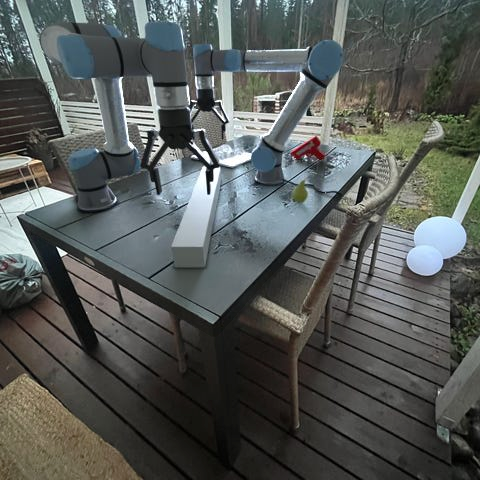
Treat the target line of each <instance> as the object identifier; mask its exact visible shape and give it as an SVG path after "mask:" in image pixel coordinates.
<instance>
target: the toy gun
mask: <svg viewBox="0 0 480 480" xmlns="http://www.w3.org/2000/svg"><path fill="white" fill-rule="evenodd" d="M321 143H322V141H321V140H320V139H319V137H318V136H317V135H314V136H313V137H311V138H309V139H308V140H306V141H305V142H303V143H302V144H301V145H299V146H297V147H296V148H294V149H293V150H291V153H290V154H291V156H292V157H293V159H294V158H296V159H294V160H295V161H297V160H299V159H301V158H303V157H305V156H306V157H307V158H310V157H312V156H314V157H315V158H316V159H317V160H318V159H319V160H321V161H322V159H323V161H324V159H325V157H326V154H325V152H323V151H322V150H321V149H320V148H319V146H320V147H321ZM319 160H318V162H319V163H320V162H321V161H319Z"/></svg>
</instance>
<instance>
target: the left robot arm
mask: <svg viewBox="0 0 480 480" xmlns="http://www.w3.org/2000/svg"><path fill="white" fill-rule="evenodd" d="M183 36H184V35H183V30H182V26H181V25H180V24H179V23H177V22H174V21H162V20H161V21H149V22H146V23H145V25H144V37H126V36H125V37H124V36H123V35H122V33H121V32H120V31H119V29H118V28H117V27H115V26H114V25H110V24H104V23H96V22H95V23H94V22H93V23H92V22H72V21H71V22H70V21H60V22H59V21H57V22H54V23H50V24H48V25H46V26H45V27H44V28H43V29H42V30H41V31H40V33H39V45H40V48H41V50H42V52H43V53H44V55H45V57H46V58H47V59H49V61H51V62H52V63H54V64H55V65H58V66H60V67H62V68H63V70H64V71H65V74H66V75H67V76H68V77H69V78H71V79H82V80H90V79H93V81H94V86H95V91H96V97H97V101H98V106H99V111H100V117H101V121H102V126H103V131H104V132H103V133H104V137H105V143H103V146H102V148H103V150H101V151H99V150H98V149H97V148H93V147H91V148H83V149H80V150H76V151H75V152H73V153H71V154H70V155H68V157H67V162H68V166H69V170H70V172H71V174H72V177H73V180H74V183H75V186H76V189H77V192H78V193H77V194H78V195H76V196H75V198H76V199H77V201H78V202H77V206H78V209H79V210H80V212H83V213H89V214H91V213H92V214H93V213H101V212H104V211H107V210H110V209H112V208H114V207H115V206H116V205H117V203H118V200H117V197H116V196H115V194H114V193H113V191H112V190H111V189H110V187H109V185H108V180H109V181H110V180H113V179H118V178H122V177H123V178H124V177H127V176H128V177H129V176H132V175H135V174H137V173H139V171H140V168H141V169H145V170H147V171H148V174H149V179H150V182H151V183H154V186H155V192H156V195H157V196H160V195H161V194H162V192H163V189H162V182H161V176H160V170H159V168H158V167H156V166H157V165H158V163H159V162H160V160H161V159H162V157H163V156H164V154H165V153H166V151H167V150H168V148H169V149H170V150H177V149H178V150H185V149H187V150H188V151H190V152H191V153H192V154H193V156H194V155H195V156H196V157H197V158H198V159H199V160H198V161H200V163H201V164H202V165H203V167H206V171H205V174H206V186H207V195H210V192H211V185H210V182H213V180H214V169H215V168H219V167H221V165H220V161H219V160H218V158H217V156H216V154H215V152H214V150H213V149H214V148H213V147H212V145H211V143H210V141H209V140H208V138H207V133H206V129H205V128H204V127H202V128H201V129H195V130H193V129H192V124H193V123H192V124H191V119H192V113H191V114H190V107H188V106H190V94H189V93H190V92H189V85H188V75H187V61H186V50H185V49H186V48H185V47H186V46H185V42H184V37H183ZM148 77H149V78H151V79H152V86H153V92H154V99H155V104H156V106H157V107H159V108H158V109H157V118H158V123H159V124H158V125H159V130H157V129H154V128H150V129H149V130H147V132H146V136H147V137H146V138H147V141H146V144H145V148H144V151H143V155H142V158H141V157H140V154H139V151H138V149H137V148H136V146H134V145H133V143H132V142H130V141H129V139H130V138H129V132H128V125H127V119H126V110H125V104H124V103H125V102H124V96H123V88H122V87H123V86H122V79H123V78H148ZM194 136H195V137H196V138H197V139H198V140H200V142H201V145H202V146H203V148H204V150H205V152H207V153H208V155H209V157H210V159H211V161H212V162H213V163H211V162H210V160H209V159H208V158H207V157H206V156H205V155H204V154H203V153H202V152H203V151H201V149H200V148H199V147H198V146H197V145H196V143H195V142H194V140H193V137H194ZM159 137H160V139H161V140H162V141H163V144H162V145H161V146H160V148H159V150H158V151H157V153H156V155H155V156H154V157H153V159H152V161H151V162H149V161H150V158H151V155H152V152H153V149H154V146H155V141H156V140H157V139H158V138H159Z"/></svg>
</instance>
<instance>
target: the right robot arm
mask: <svg viewBox="0 0 480 480" xmlns="http://www.w3.org/2000/svg"><path fill="white" fill-rule="evenodd" d="M344 57H345V55H344V50H343V48H342V46H341V44H340V43H339V42H338V41H335V40H334V39H325V40H321V41H319V42H318V43H317V44H316V45H315V46H313V45H312V46H311V45H310V46H308V47H306V49H273V50H272V49H271V50H269V49H268V50H238V49H232V48H231V49H230V48H229V49H213V47H212V44H210V43H197V44H194V45H193V63H194V73H195V74H194V75H195V87H196V100H193V99H192V100H190V101H189V103H190V104H189V109H190V114H191V115H192V113H193V110H194V107H196V105H197V107H198V109H197V110H196V112H195V113H194V115H193V116H192V117H191V124H192V129H193V130H196V129H195V123H194V121H195V120H196V119H197V117H198V116H199V115H200V112H203V113H210V112H211V113H213V114H214V115H215V117H216V118H217V119H218V120H219V121H220V123H221V124H220V125H221V126H220V130H221V140H222V141H224V138H225V135H224V134H225V132H226V131H227V130H226V129H227V127H226V125H227V124H229V123H230V118H229V116H228V114H227V113H226V111H225V109H224V106H223V102H222V99H219V100H215V88H214V87H215V85H214V73H239V72H300V80H299V82H298V84H297V85H296V87H295V89H294V90H293V91H292V92H291V93H292V94H291V95H290V96H289V98H288V100H287V102H286V103H285V105H284V107H283V108H282V110H281V111H280V113H279V115H278V117H277V118H276V120H275V122H274V123H273V125H272V127H270V129H271V130H270V129H269V130H270V132H269V133H264V134H261V135H260V137H259V142H258V143H257V144H256V146H255V147H254V149H252V151H251V153H250V154H251V160H250V162H251V165H252V167H253V168H254V169H255V170H257V171H256V174H255V177H254V181H255V183H258V184H259V185H262V186H263V185H264V186H279V185H281V184H283V183H284V182H286V183H288V184H290V185H294V186H295V187H297V186H298V184H299V183H295V182H292V181H290V180H287V179H285V175H284V172H283V171H284V170H283V167H282V165H283V154H284V152H285V150H286V146H285V145H286V143H287V141H288V140H289V139H290V137H291V135H292V134H293V132H294V131H295V129H296V128H297V126H298V125H299V123H300V122H301V120H302V119H303V117H304V115H306V112H307V111H308V109H309V108H310V107H311V105H312V104H313V102H314V100H315V99H316V97H317V96H318V94H319V93H320V92H321V91H325V90H326V89H327V88H328V86H329V85H330V83H331V82H332V81H333V79H334V77H335V76H336V74H338V73H339V71H340V70H341V68H342V66H343V63H344ZM215 106H217V107H219V110H220V113H221V114H222V115H221V114H220V113H219V112H218V111H217V109H216V108H215ZM195 140H196V136H194V137H193V138H192V141H195ZM314 185H315V184H312V183H305V187H312V188H315V190H316V191H317V192H318V193H321V194H332V193H333V194H337V195H338V196H339V197H340V196H341V197H342V196H343V195H342V193H341V192H339V191H337V190H329V191H324V192H322V191H323V190H321V191H319V190H320V189H319V188H318V189H317V188H316V187H315V186H316V185H315V186H314ZM325 192H326V193H325Z"/></svg>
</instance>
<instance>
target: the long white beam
mask: <svg viewBox="0 0 480 480" xmlns="http://www.w3.org/2000/svg"><path fill="white" fill-rule="evenodd" d="M221 167H222V166H219V168H215V169H214V180H213V182H210V185H211V192H210V195H207V186H206V174H205V171H206V167H205V166H202V168H201V170H200V173H199V175H198V177H197V180H196V182H195V185H194V188H193V191H192V193H191V196H190V198H189V200H188V203H187V206H186V209H185V211H184V213H183V215H182V219H181V221H180V224H179V225H178V229H177V231H176V234H175V236H174V239H173V241H172V244H171V246H170V248H171V254H172V260H173V265H174V268H206V265H207V260H208V254H209V248H210V242H211V237H212V233H213V226H214V221H215V215H216V210H217V205H218V200H219V194H220V190H221V189H220V188H221V184H222V174H221V173H222V169H221Z"/></svg>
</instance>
